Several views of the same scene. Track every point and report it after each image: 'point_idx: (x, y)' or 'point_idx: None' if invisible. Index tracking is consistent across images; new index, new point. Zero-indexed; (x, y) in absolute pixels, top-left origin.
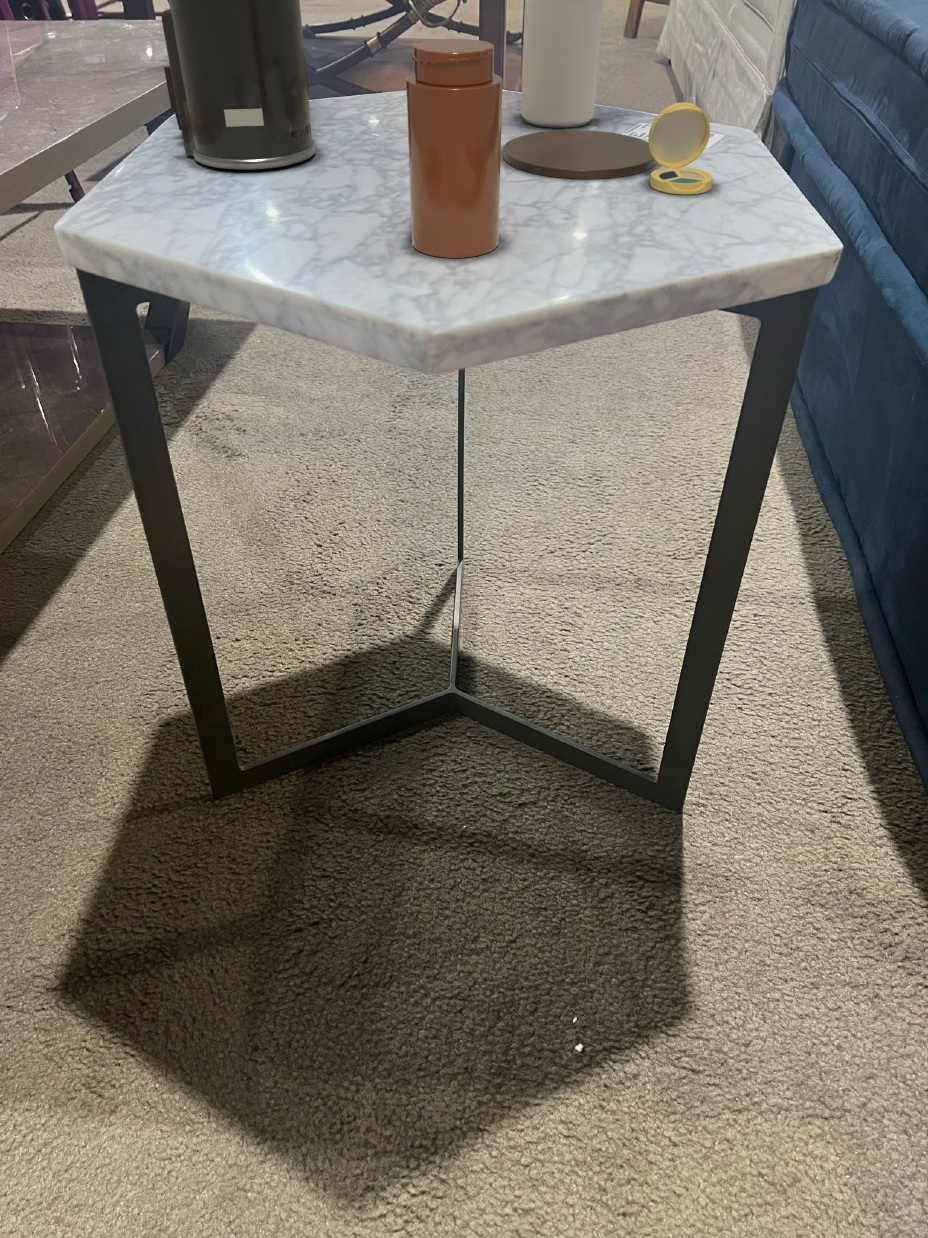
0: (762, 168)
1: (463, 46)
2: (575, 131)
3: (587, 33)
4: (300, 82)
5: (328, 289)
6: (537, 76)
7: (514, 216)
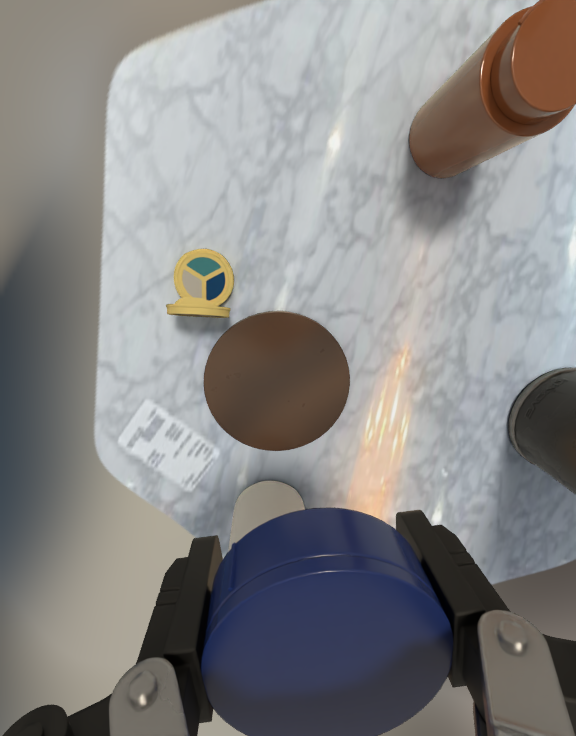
0: (109, 325)
1: (551, 42)
2: (267, 444)
3: None
4: (565, 421)
5: None
6: None
7: (378, 207)
